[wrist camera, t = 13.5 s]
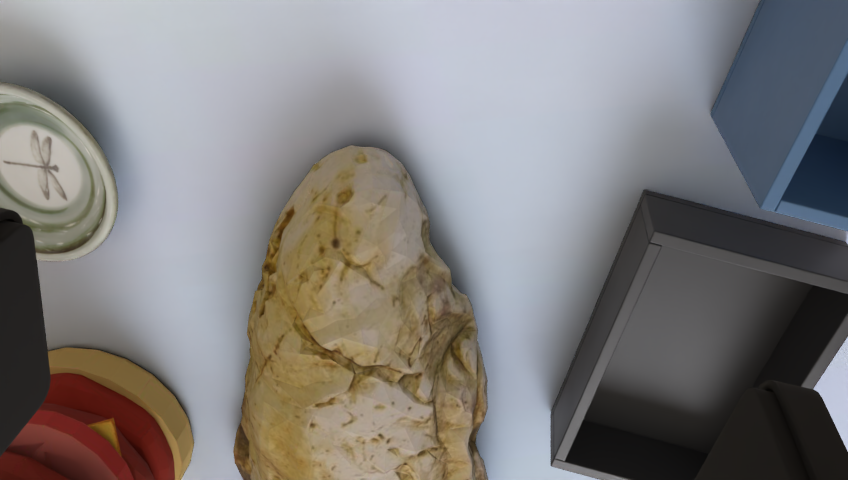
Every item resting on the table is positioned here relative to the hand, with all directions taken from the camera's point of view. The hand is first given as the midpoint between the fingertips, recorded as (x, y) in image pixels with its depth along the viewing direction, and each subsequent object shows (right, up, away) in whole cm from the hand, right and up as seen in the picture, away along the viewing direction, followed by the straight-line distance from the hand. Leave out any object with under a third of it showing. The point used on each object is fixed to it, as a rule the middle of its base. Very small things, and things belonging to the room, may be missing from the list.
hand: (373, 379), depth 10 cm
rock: (-3, -6, +33) cm, 34 cm away
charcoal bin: (+14, -3, +28) cm, 32 cm away
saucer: (-19, +6, +29) cm, 35 cm away
